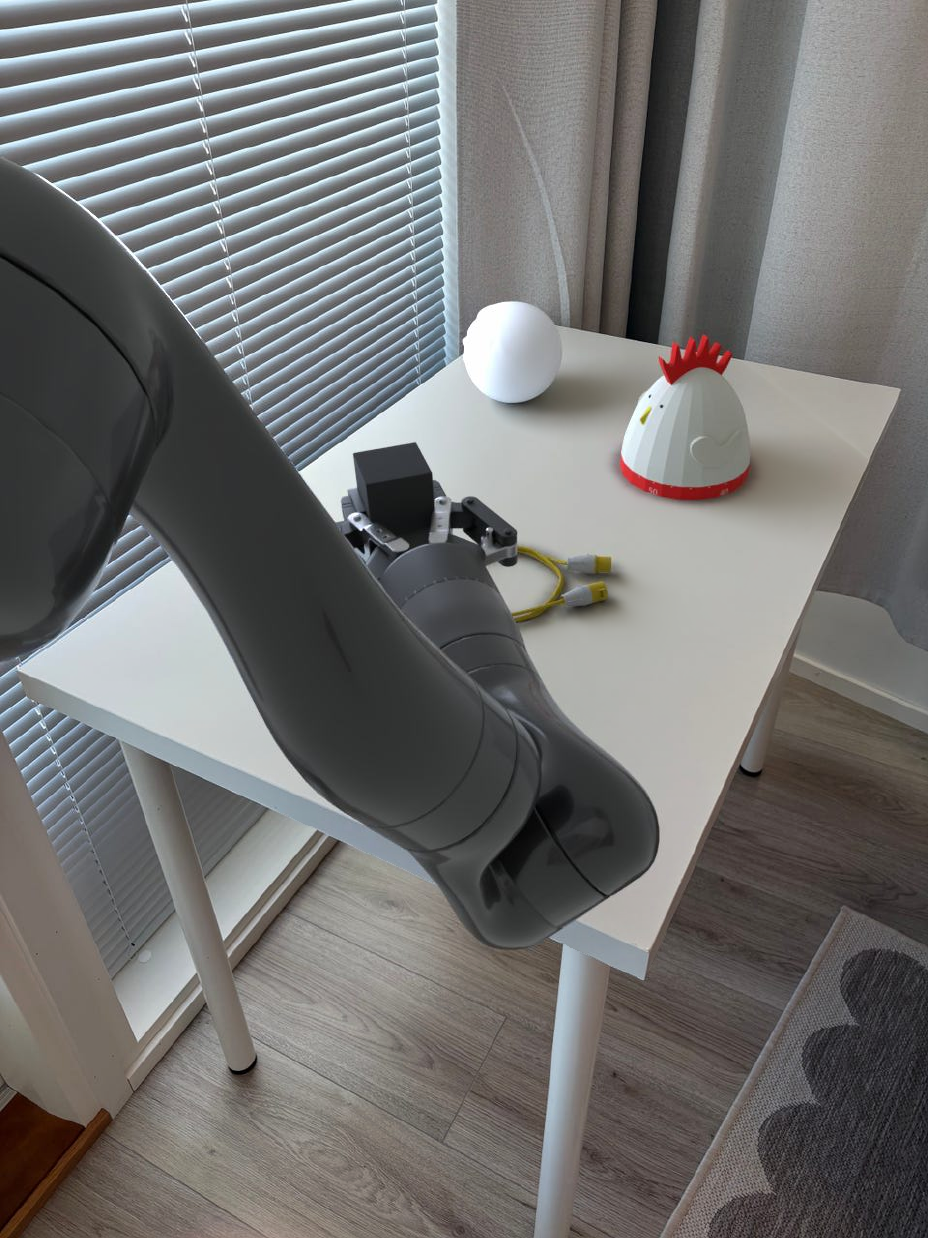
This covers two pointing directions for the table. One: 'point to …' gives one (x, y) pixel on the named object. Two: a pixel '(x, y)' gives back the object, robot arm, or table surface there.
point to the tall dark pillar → (396, 487)
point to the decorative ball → (512, 351)
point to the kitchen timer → (688, 429)
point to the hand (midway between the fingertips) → (387, 493)
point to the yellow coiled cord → (571, 598)
